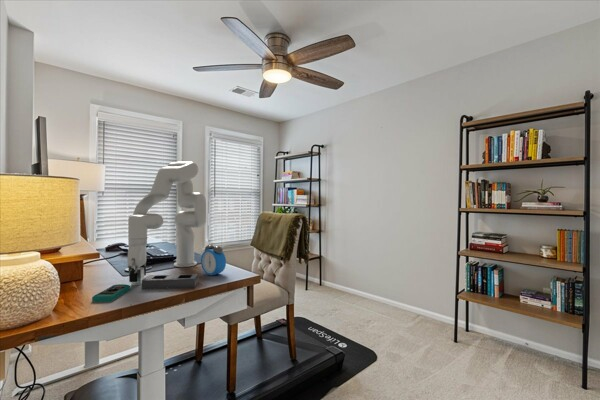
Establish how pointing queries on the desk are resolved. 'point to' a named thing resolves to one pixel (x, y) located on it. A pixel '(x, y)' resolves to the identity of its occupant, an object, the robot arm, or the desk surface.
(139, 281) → the white green box
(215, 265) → the alarm clock
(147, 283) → the rail
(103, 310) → the desk surface
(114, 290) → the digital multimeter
